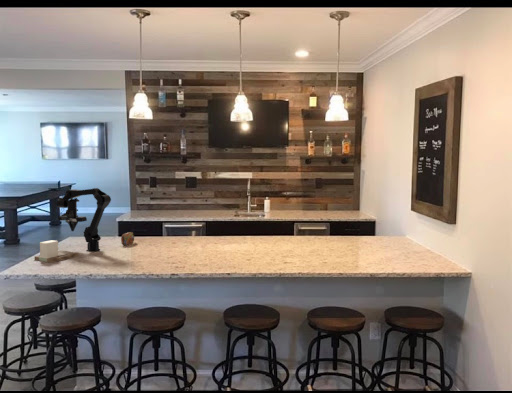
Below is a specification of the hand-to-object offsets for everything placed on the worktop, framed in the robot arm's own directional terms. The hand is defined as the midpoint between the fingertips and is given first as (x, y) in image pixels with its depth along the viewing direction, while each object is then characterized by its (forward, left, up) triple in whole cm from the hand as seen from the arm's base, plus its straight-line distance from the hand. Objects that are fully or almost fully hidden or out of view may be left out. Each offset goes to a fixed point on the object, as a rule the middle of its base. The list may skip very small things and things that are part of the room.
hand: (72, 231), depth 293 cm
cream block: (-7, +30, -10) cm, 33 cm away
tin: (-26, -25, -12) cm, 38 cm away
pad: (-7, +31, -12) cm, 34 cm away
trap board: (-8, +25, -12) cm, 29 cm away
